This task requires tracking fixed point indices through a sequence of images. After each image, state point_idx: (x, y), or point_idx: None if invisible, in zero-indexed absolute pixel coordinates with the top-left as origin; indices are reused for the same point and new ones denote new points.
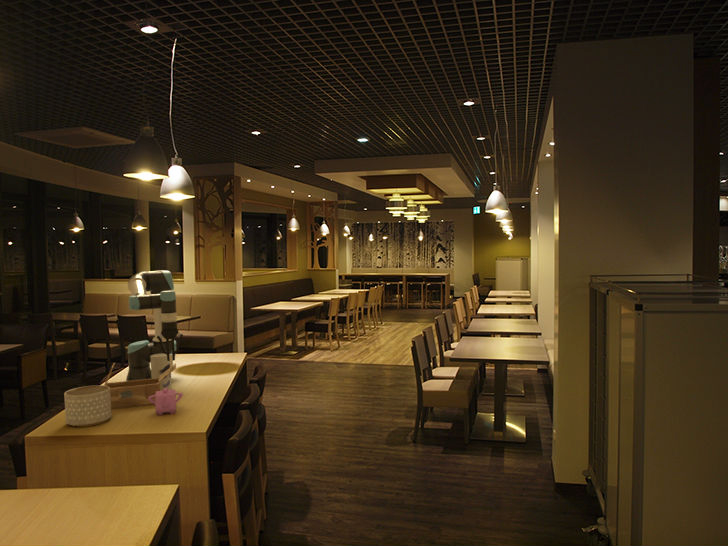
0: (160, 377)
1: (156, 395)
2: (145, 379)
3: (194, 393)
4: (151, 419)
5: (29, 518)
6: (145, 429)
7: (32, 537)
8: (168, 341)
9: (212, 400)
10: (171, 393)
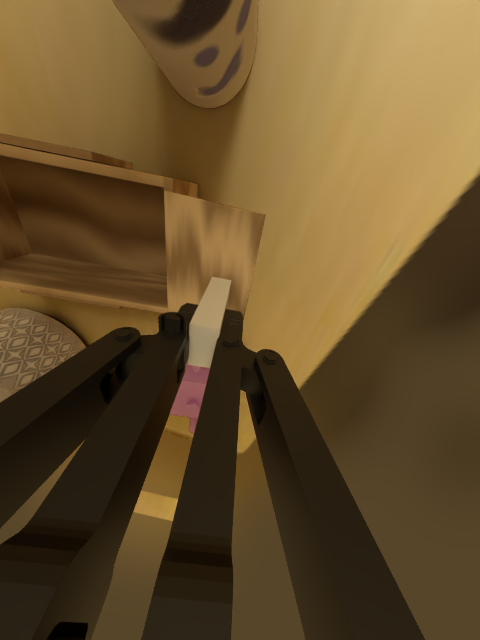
0: (170, 260)
1: (172, 409)
2: (87, 168)
3: (320, 210)
4: None
5: None
6: (170, 420)
7: None
8: (108, 567)
9: (324, 333)
10: None
